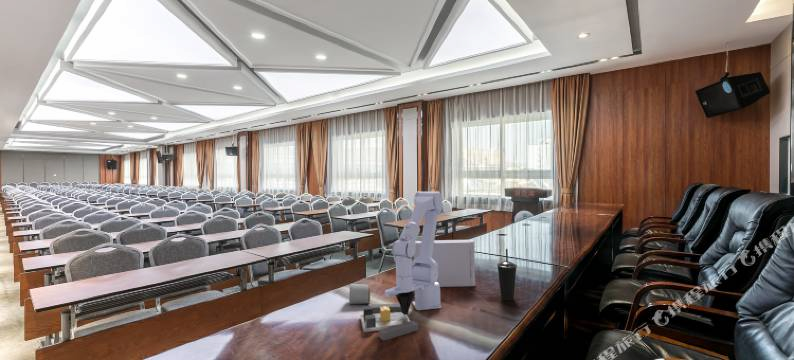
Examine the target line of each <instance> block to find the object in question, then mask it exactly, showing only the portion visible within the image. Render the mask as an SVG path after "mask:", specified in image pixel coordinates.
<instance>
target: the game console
mask: <svg viewBox="0 0 794 360" xmlns="http://www.w3.org/2000/svg"><path fill="white" fill-rule="evenodd" d="M415 242H416V246H415V253H414V255H413V260H414V259H416V258H417V257H418V256H419V253H420V246H421V240H416V241H415ZM475 247H476V246H475V240H474V239H445V240H444V239H443V240H442V239H441V240H439V239H437V240H436V239H434V246H433V254H432V258H433V259H434V260H435V262H436V263H437V264H438V279H437V281H436V282H438V283H439V286H440V288H443V287H444V288H445V287H448V288H449V287H475V286H476V278H475V276H476V275H475V272H476V267H475V266H476V262H475V261H476V260H475V259H476V257H475V254H476V253H475V252H476V251H475ZM421 265H424V264H421ZM424 266H430V265H424Z"/></svg>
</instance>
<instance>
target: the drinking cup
mask: <svg viewBox="0 0 794 360" xmlns="http://www.w3.org/2000/svg"><path fill="white" fill-rule="evenodd" d="M508 253H509V252H508V248H505V261H500V262H498V263H497V264H496V266H497V270H498V271H497V272H498V273H497V274H498V279H499V280H498V281H499V290H500V299H501V300H502V301H506V302H510V301H511V302H512V301H514V300H515V289H516V275H517V267H518V265H517V264H516V263H514V262H512V261H509V256H508V255H509V254H508Z"/></svg>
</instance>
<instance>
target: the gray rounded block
mask: <svg viewBox="0 0 794 360" xmlns="http://www.w3.org/2000/svg"><path fill="white" fill-rule="evenodd" d="M348 295H349V298H348V299H349V301H348V303H349V305H360V304H369V303H370V302H371V286H370V284H363V283H362V284H359V283H350V285H349V294H348Z"/></svg>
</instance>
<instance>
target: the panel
mask: <svg viewBox="0 0 794 360" xmlns="http://www.w3.org/2000/svg"><path fill="white" fill-rule="evenodd" d="M362 310H363V311H362V314H361V315H360V322H361V326H362V327H361V328H362V331H363V333H368V332H376V331H377V332H379V330H381V329H385V328H388V327H392V326H395V325H399V324H402V323H406V322H409V321H411V320H410V318H409V316H408V314H407V315H404V314H403V313H402V311H396V312H390V320H388V321H381V318H380V313H376V314H373V309H372V305H365V306H364V305H363V306H362Z"/></svg>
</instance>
